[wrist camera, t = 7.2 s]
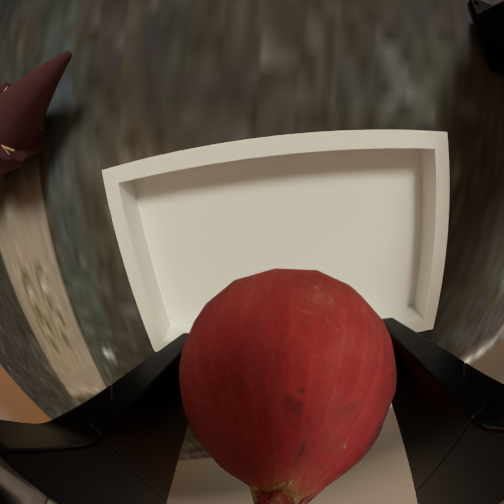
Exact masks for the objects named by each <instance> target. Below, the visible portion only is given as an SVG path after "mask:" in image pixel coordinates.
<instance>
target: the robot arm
mask: <svg viewBox="0 0 504 504" xmlns="http://www.w3.org/2000/svg"><path fill="white" fill-rule="evenodd" d="M469 3H470V5H471V8H472V11H473V13H474V16H475V19H476V22H477V25H478V28H479V31H480V35H481V38H482V42H483V45H484V49H485V53H486V57H487V61H488V65H489V67H490V69H491V70H492V71H493V72H496V73H499V74H503V75H504V1H502V2H500V3H498V4H496V5H493V6H492V5H490V4H487V3H485V2H483V1H480V0H469ZM493 64H494V65H493ZM494 66H495V67H494ZM382 320H383V321H384V323H385V325H386V327H387V330H388V332H389V335H390V337H391V340H392V345H393V351H394V356H395V362H396V368H397V382H396V391H395V394H394V397H393V399H392V402H391V403H392V406H393V409H394V412H395V415H396V419H397V422H398V425H399V429H400V432H401V436H402V439H403V443H404V446H405V450H406V454H407V458H408V462H409V466H410V470H411V474H412V478H413V482H414V487H415V491H416V497H417V502H418V504H504V384H502V383H500V382H498V381H496V380H494V379H492V378H491V377H489V376H487V375H485V374H483V373H482V372H480V371H478V370H477V369H475V368H473V367H472V366H470V365H468V364H467V363H464V361H462V360H460V359H459V358H457V357H456V356H454V355H452V354H451V353H449V352H448V351H446V350H444V349H443V348H441V347H440V346H438V345H436V344H435V343H433V342H431V341H430V340H428V339H427V338H425V337H423V336H422V335H420V334H418V333H417V332H415V331H414V330H412V329H410V328H409V327H407V326H405V325H404V324H402V323H400V322H399V321H397V320H396V319H394V318H384V319H382ZM188 334H189V333H183V334H181V335H180V336H179V337H177V338H176V339H174V340H173V341H172V342H170V343H169V344H168V345H166V346H165V347H163V348H162V349H161V350H159V351H158V352H157V353H155V354H154V355H152V356H151V357H150V358H148V359H147V360H145V361H144V362H143V363H141V364H140V365H138V366H137V367H136V368H134V369H133V370H131V371H130V372H129V373H127V374H126V375H124V376H123V377H121V378H120V379H119V380H117V381H116V382H114V383H113V384H112V385H110V386H109V387H107V388H106V389H104V390H103V391H101V392H100V393H98V394H97V395H95V396H94V397H92V398H91V399H89V400H87V401H86V402H84V403H82V404H80V405H79V406H77V407H75V408H73V409H72V410H70V411H68V412H66V413H64V414H62V415H61V416H59V417H57V418H55V419H53V420H51V421H49V422H46V423H41V424H30V423H21V422H12V421H5V420H0V504H166V503H167V502H166V501H167V499H168V495H169V492H170V488H171V484H172V480H173V477H174V473H175V469H176V466H177V462H178V458H179V455H180V451H181V447H182V444H183V440H184V436H185V433H186V429H187V426H188V420H187V418H186V415H185V412H184V408H183V403H182V397H181V392H180V381H179V365H180V359H181V353H182V348H183V346H184V343H185V341H186V339H187V337H188Z"/></svg>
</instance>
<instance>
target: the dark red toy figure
mask: <svg viewBox="0 0 504 504" xmlns="http://www.w3.org/2000/svg"><path fill="white" fill-rule="evenodd" d="M71 56H72V54H71V53H70V52H69V51H66V52H64V53H62V54H60V55H58V56H56V57H54V58H53V59H51V60H49V61H48V62H46V63H44V64H43V65H41V66H40V67H38V68H36V69H35V70H33V71H32V72H30V73H29V74H27V75H26V76H24V77H23V78H21V79H20V80H19V81H17V82H16V83H14V84H13V85H12V86H11V85H10V84H9V83H4V84H2V85H1V86H0V180H2V179H3V178H4V177H5V176H6V175H7V173H8V172H9V171H11V170H14V169H16V168H19V167H22V166H23V165H24V164H25V163H26V162H27V161H28V160H29V159H30V158H32V157H33V156H35V155H37V154H38V153H40V152H41V151H42V150H43V146H44V139H45V133H46V129H47V123H46V122H45V120H44V117H45V115H46V112H47V109H48V107H49V104H50V102H51V99H52V97H53V94H54V92H55V90H56V87H57V85H58V83H59V81H60V79H61V77H62V75H63V73H64V71H65V69H66V67H67V65H68V63H69V61H70V59H71Z"/></svg>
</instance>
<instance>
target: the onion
mask: <svg viewBox="0 0 504 504" xmlns="http://www.w3.org/2000/svg"><path fill="white" fill-rule="evenodd" d="M179 381H180V392H181V397H182V403H183V408H184V412H185V415H186V418H187V420H188V423H189V425H190V427H191V429H192V431H193V432H194V434H195V436H196V437H197V439H198V441H199V442H200V443H201V444H202V446H203V447H204V448H205V449H206V451H207V452H208V453H209V454H210V455H211V457H212V458H213V459H214V460H215V461H216V463H217V464H218V465H219V466H220V467H221V468H223V469H224V470H225V471H227V472H228V473H230V474H231V475H232V476H234V477H236V478H237V479H239V480H241V481H243V482H244V483H245V484H247V485H248V486H250V490H251V494H252V497H253V501H254V504H307V503H308V502H310V501H311V500H312V499H313V498H314V497H315V496H316V495H318V494H319V493H320V492H321V491H322V490H323V489H324V488H325V487H326V486H328V485H329V484H331V483H332V482H333V481H335V480H336V479H338V478H339V477H340V476H342V475H343V474H344V473H346V472H347V471H348V470H349V469H351V468H352V467H353V466H354V465H355V464H357V463H358V462H359V461H360V460H361V459H362V458H363V457H364V456H365V454H366V453H367V452H368V451H369V450H370V449H371V447H372V445H373V444H374V442H375V441H376V439H377V437H378V436H379V434H380V431H381V428H382V425H383V422H384V420H385V417H386V415H387V412H388V410H389V407H390V405H391V402H392V399H393V397H394V394H395V391H396V382H397V368H396V362H395V356H394V351H393V345H392V340H391V337H390V335H389V332H388V330H387V327H386V325H385V323H384V321H383V320H382V319H381V318H380V316H379V315H378V314H377V313H376V312H375V311H374V310H373V308H372V307H371V306H370V305H369V304H368V303H367V301H366V300H365V299H364V298H363V297H362V296H361V295H360V294H359V293H358V292H357V291H356V290H355V289H353V288H352V287H351V286H350V285H348V284H346V283H344V282H342V281H339V280H337V279H335V278H333V277H331V276H329V275H326V274H324V273H322V272H320V271H318V270H301V269H279V268H275V269H271V270H268V271H264V272H261V273H258V274H254V275H251V276H247V277H244V278H240V279H237V280H234V281H233V282H232V283H230V284H229V285H228V286H227V287H226V288H224V289H223V290H222V291H221V292H220V293H218V294H217V295H216V296H215V297H213V298H212V299H211V300H210V301H209V302H207V303H206V304H205V306H204V307H203V309H202V310H201V312H200V313H199V315H198V316H197V318H196V319H195V321H194V323H193V325H192V328H191V330H190V332H189V334H188V337H187V339H186V341H185V343H184V346H183V348H182V353H181V359H180V365H179Z"/></svg>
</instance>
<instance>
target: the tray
mask: <svg viewBox="0 0 504 504" xmlns="http://www.w3.org/2000/svg"><path fill="white" fill-rule="evenodd" d="M102 174H103V179H104V185H105V189H106V194H107V199H108V204H109V208H110V212H111V217H112V221H113V225H114V229H115V233H116V237H117V240H118V244H119V248H120V252H121V255H122V259H123V262H124V265H125V269H126V272H127V275H128V279H129V282H130V285H131V288H132V291H133V294H134V297H135V300H136V303H137V306H138V309H139V312H140V315H141V317H142V320H143V323H144V326H145V328H146V331H147V334H148V336H149V339H150V341H151V344H152V346H153V349H154V351H155V352H158V351H159V350H161V349H162V348H163V347H165V346H166V345H168V344H169V343H170V342H172V341H173V340H174V339H176V338H177V337H179V336H180V335H181V334H183V333H189V332H190V330H191V328H192V325H193V323H194V321H195V319H196V318H197V316H198V315H199V313H200V312H201V310H202V309H203V307H204V306H205V304H206V303H207V302H209V301H210V300H211V299H212V298H213V297H215V296H216V295H217V294H218V293H220V292H221V291H222V290H223V289H224V288H226V287H227V286H228V285H229V284H230V283H232V282H233V281H234V280H237V279H240V278H244V277H247V276H251V275H254V274H258V273H261V272H264V271H268V270H271V269H275V268H279V269H301V270H318V271H320V272H322V273H324V274H326V275H329V276H331V277H333V278H335V279H337V280H339V281H342V282H344V283H346V284H348V285H350V286H351V287H352V288H353V289H355V290H356V291H357V292H358V293H359V294H360V295H361V296H362V297H363V298H364V299H365V300H366V301H367V303H368V304H369V305H370V306H371V307H372V308H373V310H374V311H375V312H376V313H377V314H378V315H379V316H380V318H381V319H384V318H394V319H396V320H397V321H399V322H400V323H402V324H404V325H405V326H407V327H409V328H410V329H412V330H414V331H415V332H421V331H426V330H431V329H433V327H434V322H435V317H436V313H437V308H438V303H439V297H440V291H441V285H442V279H443V272H444V265H445V256H446V247H447V236H448V222H449V195H450V174H449V148H448V134H447V132H439V131H421V130H346V131H326V132H311V133H299V134H288V135H279V136H270V137H261V138H253V139H246V140H239V141H232V142H226V143H220V144H214V145H208V146H203V147H197V148H192V149H187V150H182V151H177V152H172V153H168V154H163V155H159V156H154V157H150V158H146V159H142V160H138V161H134V162H130V163H126V164H122V165H119V166H115V167H111V168H108V169H104V170H102Z"/></svg>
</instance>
